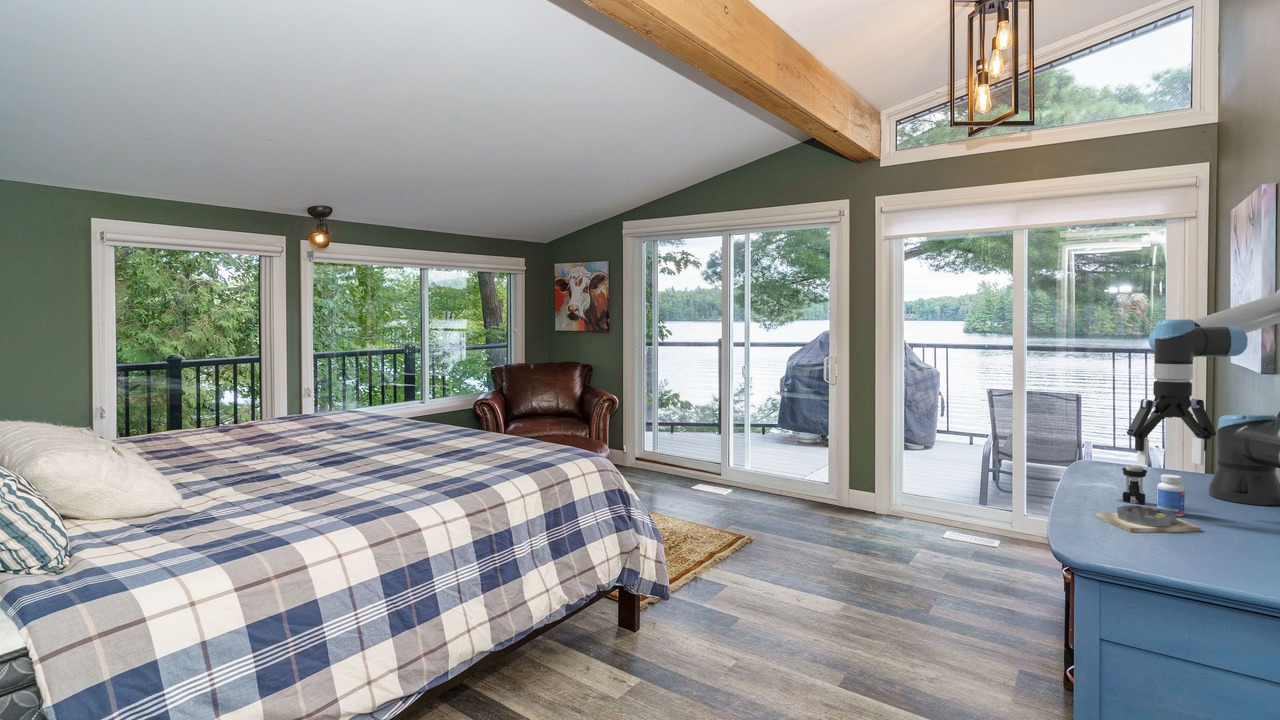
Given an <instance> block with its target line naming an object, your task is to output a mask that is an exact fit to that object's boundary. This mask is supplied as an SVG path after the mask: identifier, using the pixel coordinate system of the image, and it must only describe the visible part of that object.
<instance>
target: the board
mask: <svg viewBox="0 0 1280 720" xmlns="http://www.w3.org/2000/svg"><path fill="white" fill-rule="evenodd" d="M1096 517H1097V518H1096ZM1095 518H1096V519H1099V520H1101V521H1103V522H1105V521H1106V523H1108V524H1110V525H1112V524H1113V526H1115V527H1118V528H1119V529H1121V530H1124V531H1126V532H1129V533H1168V532H1169V533H1173V532H1174V533H1176V532H1178V533H1179V532H1182V533H1183V532H1201V526H1198V525H1196V524H1193V523H1191V522H1189V521H1188V522H1187V521H1185V520H1182V519H1179V518H1177V519H1176V525H1174V526H1171V527H1152V526H1143V525H1138V524H1133V523H1129V522H1126V521H1123V520H1121V519H1119V518H1118V516H1117V512H1103V513H1101V512H1097V513H1095Z"/></svg>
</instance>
